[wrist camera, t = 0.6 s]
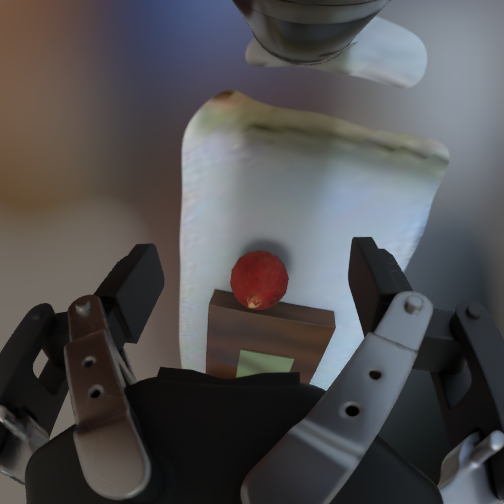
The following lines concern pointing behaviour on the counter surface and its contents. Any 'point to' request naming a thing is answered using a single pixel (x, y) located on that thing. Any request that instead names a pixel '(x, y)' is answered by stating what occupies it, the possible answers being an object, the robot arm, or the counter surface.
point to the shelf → (265, 338)
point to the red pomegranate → (259, 280)
